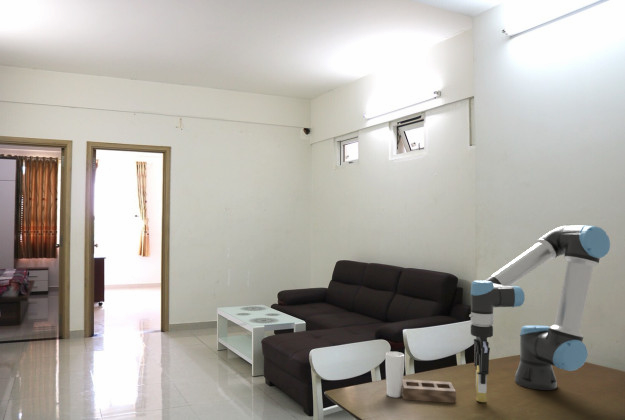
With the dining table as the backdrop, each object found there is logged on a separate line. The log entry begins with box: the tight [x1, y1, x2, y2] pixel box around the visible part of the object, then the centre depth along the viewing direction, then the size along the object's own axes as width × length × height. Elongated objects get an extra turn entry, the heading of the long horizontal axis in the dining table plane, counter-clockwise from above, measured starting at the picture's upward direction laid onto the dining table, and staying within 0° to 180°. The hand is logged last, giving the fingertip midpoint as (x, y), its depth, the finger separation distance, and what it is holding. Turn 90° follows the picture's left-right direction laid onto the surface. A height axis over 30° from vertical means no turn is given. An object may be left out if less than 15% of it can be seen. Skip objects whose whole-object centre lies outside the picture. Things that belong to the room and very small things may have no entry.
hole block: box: [401, 378, 457, 404], centre depth 177 cm, size 18×10×4 cm, turn 84°
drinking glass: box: [384, 351, 405, 398], centre depth 177 cm, size 7×7×15 cm
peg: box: [476, 365, 487, 403], centre depth 174 cm, size 3×3×12 cm
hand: (481, 390), depth 174 cm, fingers closed on peg, 3 cm apart
